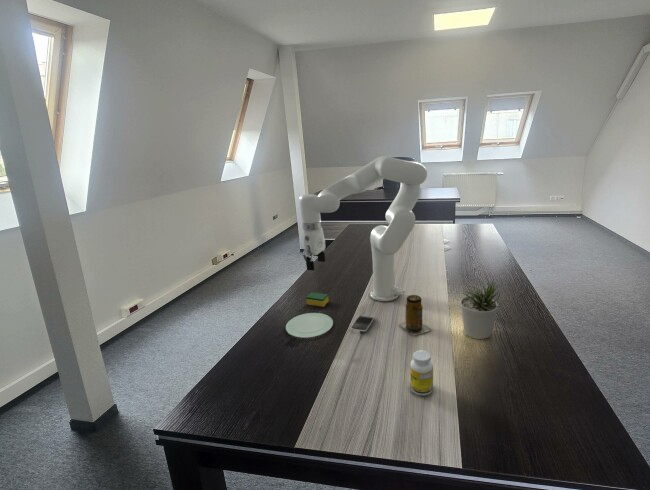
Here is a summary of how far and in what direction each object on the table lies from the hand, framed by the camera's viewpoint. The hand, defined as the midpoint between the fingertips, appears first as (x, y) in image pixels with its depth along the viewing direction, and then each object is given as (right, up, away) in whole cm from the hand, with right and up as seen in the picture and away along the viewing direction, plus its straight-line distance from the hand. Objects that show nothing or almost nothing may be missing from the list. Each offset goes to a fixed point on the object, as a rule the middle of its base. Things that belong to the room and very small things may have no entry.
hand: (316, 265), depth 149 cm
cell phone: (+19, -22, -13) cm, 32 cm away
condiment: (+38, -22, -16) cm, 47 cm away
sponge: (0, -17, +5) cm, 18 cm away
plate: (-1, -23, -12) cm, 25 cm away
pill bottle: (+35, -31, -47) cm, 66 cm away
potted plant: (+59, -22, -22) cm, 67 cm away
